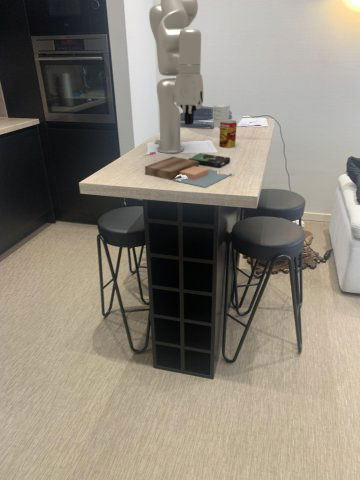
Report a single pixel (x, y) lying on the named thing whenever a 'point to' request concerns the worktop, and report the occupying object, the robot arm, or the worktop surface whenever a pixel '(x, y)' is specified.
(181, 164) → the block
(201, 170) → the terracotta tile
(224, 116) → the supplement box
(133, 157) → the worktop surface
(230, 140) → the canned food
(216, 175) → the slate mat
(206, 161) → the disk drive
